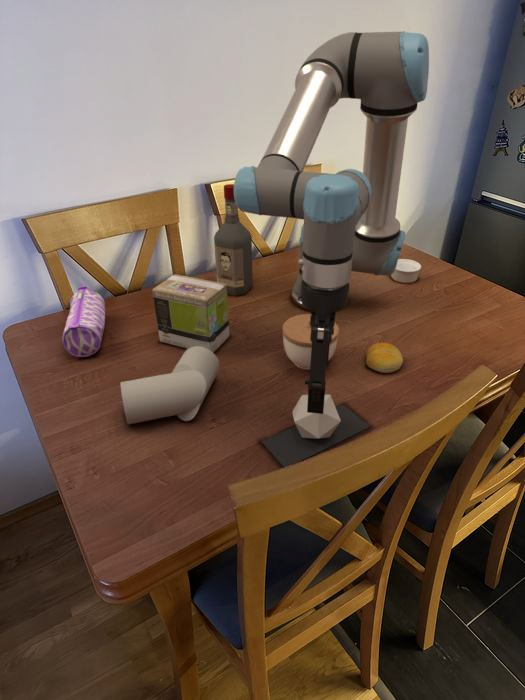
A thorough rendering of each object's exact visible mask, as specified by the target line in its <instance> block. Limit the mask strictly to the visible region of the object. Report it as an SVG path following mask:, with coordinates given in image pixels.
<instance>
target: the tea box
mask: <svg viewBox="0 0 525 700" xmlns="http://www.w3.org/2000/svg"><path fill="white" fill-rule="evenodd" d="M151 291H152V298H153V305H154V310H155V311H154V312H155V318H156V324H157V326H156V327H157V332H158V338H159V342H161V343H165V344H168V345H172V346H176V347H179V348H184V349H186V350H187V349H189V348H191V347H195V346H199V347H204V348H206V349H208V350H210V351H211V352H213V353H214V352H216V351H217V350H218V348H220V347H221V345H222V344H224V342H225V341H226V340H227V339H228V338H229V337H230V315H229V302H228V301H229V299H228V294H227V285H226V284H224V283H219V282H217V281H213V280H207V279H203V278H197V277H192V276H187V275H180V274H177V273H173V275H171V276H170V277H168V278H167V279H166V280H164V281H162V282H161V283H160V284H158V285H156V286H154V287H153V288H152V289H151Z"/></svg>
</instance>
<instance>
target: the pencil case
mask: <svg viewBox="0 0 525 700" xmlns="http://www.w3.org/2000/svg"><path fill="white" fill-rule="evenodd" d="M76 289H77V291H76V292H75V293H74V294H73V295H72V297H71V298H70V301H69V302H68V306H69V314H68V315H67V318H66V322H65V326H64V329H63V332H62V339H61V340H62V344H63V345H62V346H63V347H64V349H65V350H66V352H67V353H68V354H70V355H71V356H73V357H76V358H88V357H90V356H93V355H94V354H96V353H97V352H98V351H99V349H100V348H101V344H102V340H103V334H104V332H105V327H106V326H105V325H106V302H105V300H104V298H103V296H102V295H101V294H99V293H98V292H96V291H94V290H90V289H88V287H87V286H86V285H81V286H78V287H77V288H76Z"/></svg>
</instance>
